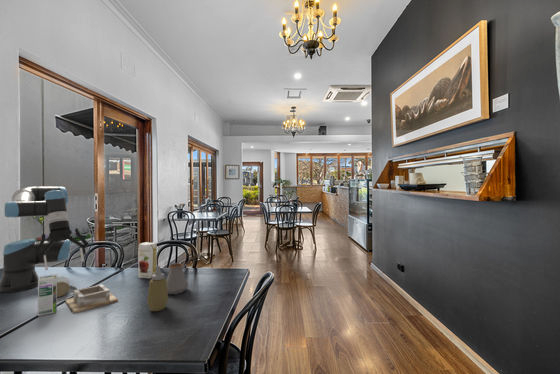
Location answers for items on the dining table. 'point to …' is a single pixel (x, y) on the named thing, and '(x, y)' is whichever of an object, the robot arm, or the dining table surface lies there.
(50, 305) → the syrup box
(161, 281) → the squeeze bottle
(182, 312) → the dining table surface
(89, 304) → the collar socket
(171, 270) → the coffee pot
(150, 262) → the juice carton
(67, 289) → the grey tan cylinder
